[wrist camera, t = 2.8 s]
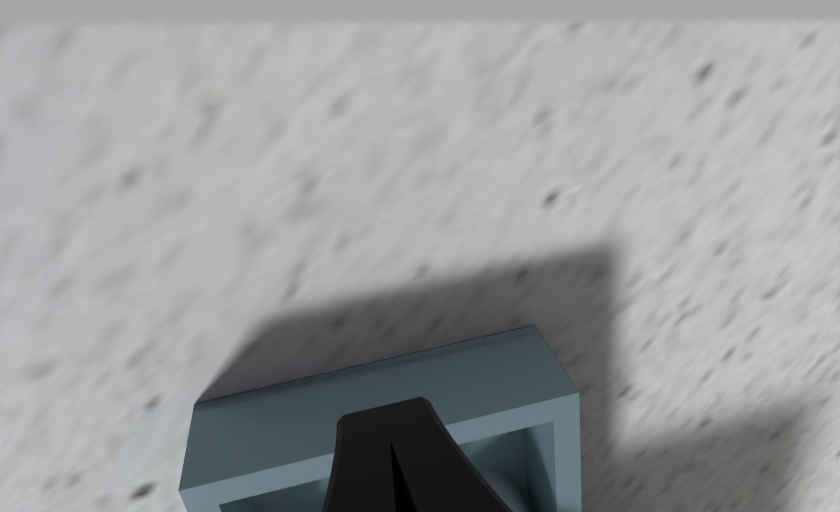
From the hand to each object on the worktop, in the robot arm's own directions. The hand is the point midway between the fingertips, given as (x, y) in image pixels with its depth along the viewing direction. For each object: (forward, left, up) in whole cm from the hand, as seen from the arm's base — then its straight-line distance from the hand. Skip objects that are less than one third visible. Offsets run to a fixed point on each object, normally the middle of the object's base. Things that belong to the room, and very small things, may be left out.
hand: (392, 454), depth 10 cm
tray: (+11, 0, -9) cm, 14 cm away
